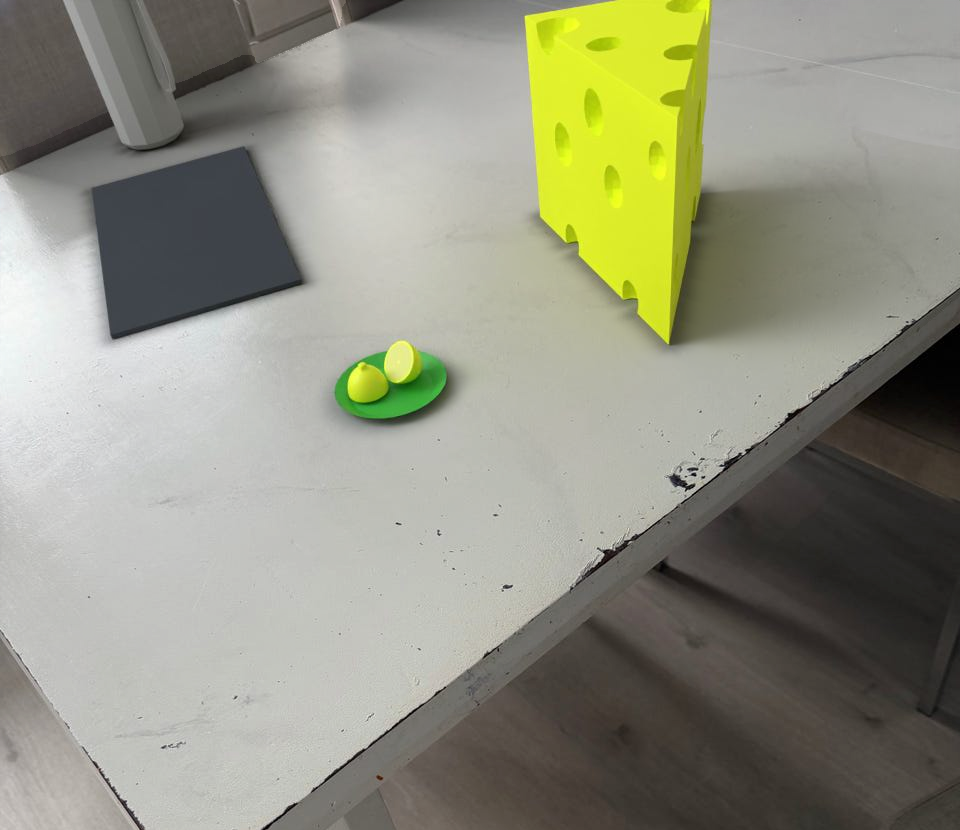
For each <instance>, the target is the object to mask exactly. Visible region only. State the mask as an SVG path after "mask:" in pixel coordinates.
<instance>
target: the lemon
mask: <svg viewBox="0 0 960 830" xmlns="http://www.w3.org/2000/svg"><path fill="white" fill-rule="evenodd" d="M447 377H448V376H447V370H446V367H445V365H444V364H443V362H442V361H441V360H440V359H438V358H437V357H436V356H435V355H432V354H430V353H428V352H425V351H422V350H418V349H417V348H416V346H414V345H413V344H411V343H410V342H408V341H405V340H398V341H395V342H393V344H392V345H390V347H389V349H388V350H385V351H381V352H378V353H374V354H371V355H369V356H366V357H364V358H362V359H360V360H358V361H356V362H355V363H353V364H351V365H350V366H349V367H348V368H347V369H346V370H345V371H343V372H342V374H341V375H340V376H339V378H338V379H337V382H336V383H335V385H334V399H335V401H336V402H337V404H338V406H340V408H341V409H343V410H344V411H346V412H347V413H349V414H351V415H354V416H357V417H361V418H366V419H389V418H396V417H399V416H403V415H407V414H410V413H412V412H415V411H418V410H420V409H422V408H423V407H424V406H427V405H428V404H429V403H431V402H432V401H434V399H435V398H436V397H438V396H439V394H440V393H441V392H442V391H443V389H444V388H445V385H446V382H447Z"/></svg>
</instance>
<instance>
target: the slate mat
mask: <svg viewBox="0 0 960 830" xmlns="http://www.w3.org/2000/svg"><path fill="white" fill-rule="evenodd" d="M91 194H92V202H93V210H94V220H95V226H96V235H97V243H98V251H99V257H100V264H101V273H102V281H103V288H104V296H105V303H106V312H107V320H108V328H109V336H110V338H111V339H112V340H115V339H117V338H121V337H124V336H127V335H131V334H134V333H138V332H141V331H144V330H147V329H151V328H155V327H158V326H162V325H166V324H168V323H171V322H175V321H178V320H182V319H185V318H189V317H192V316H195V315H198V314H203V313H206V312H210V311H213V310H216V309H219V308H220V309H221V308H223V307H226V306H229V305H233V304H237V303H240V302H243V301H247V300H251V299H253V298H257V297H261V296H264V295H267V294H271V293H274V292H277V291H281V290H284V289H288V288H290V287H295V286H298V285H301V284H302V283H303V282H302V279H301V276H300V274H299V272H298V270H297V266H296V264H295V262H294V260H293V257H292V255H291V252H290V250H289V248H288V246H287V243H286V240H285V239H284V236H283V234H282V232H281V230H280V228H279V225H278V223H277V220H276V217H275V215H274V213H273V211H272V209H271V206H270V203H269V201H268V198H267V197H266V194H265V192H264V189H263V187H262V185H261V183H260V180H259V178H258V175H257V173H256V170H255V168H254V165H253V163H252V161H251V159H250V157H249V155H248V152H247V150H246V147H245V146H244V145H243V146H239V147H236V148H232V149H228V150H225V151H221V152H217V153H213V154H211V155H206V156H203V157H199V158H196V159H192V160H188V161H185V162H181V163H178V164H173V165H169V166H166V167H163V168H159V169H155V170H152V171H148V172H144V173H141V174H138V175H133V176H129V177H127V178H123V179H119V180H116V181H112V182H107V183H105V184H101V185H98V186H94V187H91Z"/></svg>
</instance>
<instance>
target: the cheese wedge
mask: <svg viewBox="0 0 960 830" xmlns="http://www.w3.org/2000/svg"><path fill="white" fill-rule="evenodd" d="M712 10H713V0H611V1H605V2H599V3H593V4H587V5H580V6H575V7H569V8H563V9H557V10H551V11H546V12H545V11H544V12H540V13H533V14H528V15H524V24H525V25H524V26H525V37H526V49H527V63H528V64H527V65H528V77H529V78H528V79H529V88H530V102H531V115H532V127H533V130H532V131H533V140H534V141H533V142H534V153H535V154H534V155H535V166H536V181H537V190H538V193H537V194H538V204H539V205H538V206H539V217H540V219H542V221H544V222H545V223H546V225H548V227H550V228H551V229H552V231H554V233H556V234H557V236H559V237H560V238H561V239H562V240H563V241H564V242H565V244H570V243H575V242H577V243H578V256H579V258H581V259H582V260H583V261H584V263H586V264H587V265H588V266H589V267H590V268H591V269H592V270H593V272H595V273H596V274H597V275H598V276H599V277H600V278H601V279H602V280H603V281H604V283H606V284H607V285H608V286H609V287H610V288H611V289H612V290H613V291H614V292H615V293H616V294H617V295H618V296H619V297H620V298H621V299H622V300H623V301H625V300H629V299H637V303H638V305H637V307H638V308H637V312H636V313H637V315H638V316H639V317H640V318H641V319H642V320H643V321H644V322H645V323H646V324H647V326H649V327H650V328H651V329H652V330H653V331H654V332H655V333H656V334H657V335H658V336H659V337H660V338H661V339H662V340H663V341H664V342H665V343H666V344H668V345H670V341H671V337H672V331H673V328H674V322H675V317H676V311H677V308H678V303H679V298H680V293H681V288H682V283H683V279H684V274H685V269H686V266H687V265H686V264H687V259H688V254H689V250H690V245H691V231H692V221H693V222H695V221H696V216H697V212H698V208H699V207H698V206H699V202H700V197H701V192H702V179H703V178H702V177H703V160H704V145H705V144H703V134H704V123H705V122H704V121H705V113H706V107H707V95H708V94H707V93H708V75H709V62H710V61H709V60H710V45H711V29H712V28H711V27H712Z"/></svg>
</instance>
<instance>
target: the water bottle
mask: <svg viewBox="0 0 960 830" xmlns="http://www.w3.org/2000/svg"><path fill="white" fill-rule="evenodd" d="M62 2H63V4H64V6H65V9H66V11H67V13H68V16H69V19H70V21H71V23H72V25H73V28H74V31H75V33H76V35H77V38H78V40H79V42H80V43H79V44H80V45H81V48H82V50H83V52H84V55H85V58H86V60H87V63H88V64H89V67H90V69H91V72H92V74H93V77H94V79H95V81H96V84H97V86H98V89H99V91H100V95H101V96H102V99H103V101H104V103H105V106H106V108H107V111H108V113H109V116H110V118H111V120H112V121H111V122H112V124H113V125H114V129H115V130H116V133H117V135H118V138H119V140H120V143H121V144H123V145H124V146H126V147H128V148H130V149H133V150H137V151H142V150H144V151H145V150H152V149H156V148H159V147H164V146H166V145H168V144H170V143H171V142H173V141H175V140H176V139H177V138H178V137H179V135H180V134H181V133H182V132H183V131H184V126H185V124H184V122H183V119H182V116H181V113H180V111H179V108H178V104H177V102H176V100H175V97H174V93H173V92H174V91H176V90H177V87H176V81H175V77H174V73H173V70H172V67H171V63H170V59H169V58H168V56H167V53H166V51H165V48H164V46H163V44H162V42H161V39H160V37H159V35H158V32H157V31H156V28H155V25H154V23H153V21H152V18H151V16H150V14H149V12H148V9H147V6H146V4H145V2H144V0H62Z"/></svg>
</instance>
